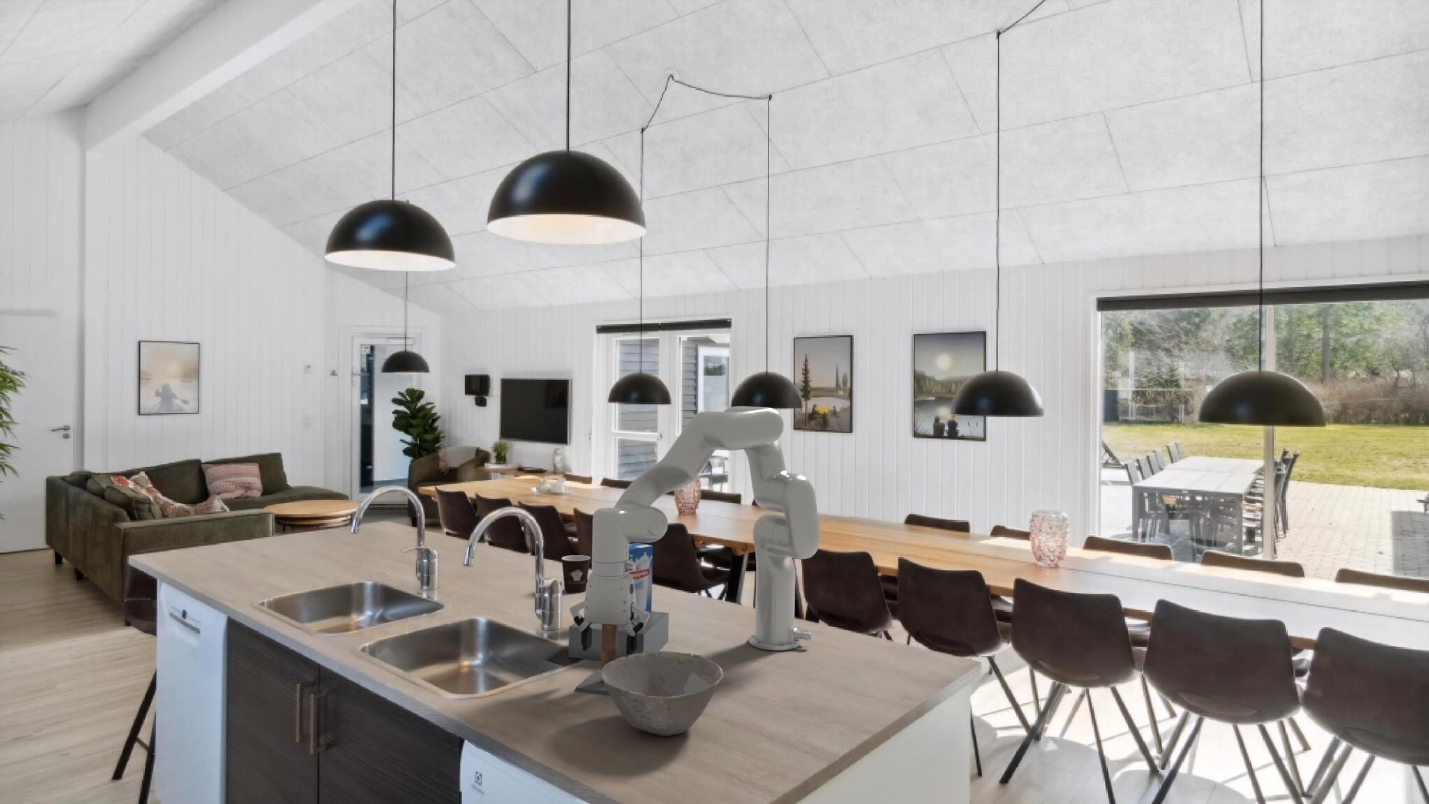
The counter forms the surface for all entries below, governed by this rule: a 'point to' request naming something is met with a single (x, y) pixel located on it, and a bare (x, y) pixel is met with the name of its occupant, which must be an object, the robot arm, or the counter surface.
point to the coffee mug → (575, 573)
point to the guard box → (622, 638)
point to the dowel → (608, 644)
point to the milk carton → (642, 573)
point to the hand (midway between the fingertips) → (608, 651)
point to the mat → (593, 684)
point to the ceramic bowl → (661, 689)
